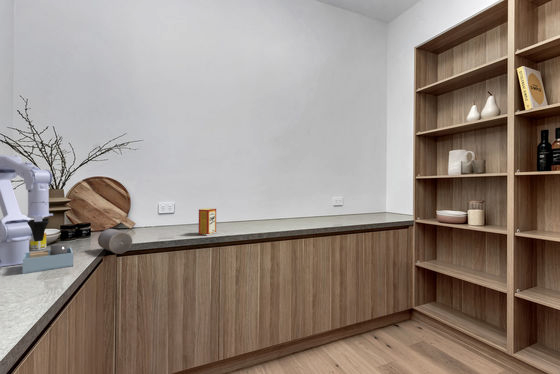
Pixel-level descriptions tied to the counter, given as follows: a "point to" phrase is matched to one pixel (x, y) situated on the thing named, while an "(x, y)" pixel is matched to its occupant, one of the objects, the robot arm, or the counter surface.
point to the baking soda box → (207, 220)
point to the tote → (47, 262)
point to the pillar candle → (115, 241)
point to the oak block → (38, 254)
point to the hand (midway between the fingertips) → (38, 239)
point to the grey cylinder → (58, 249)
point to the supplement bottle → (38, 243)
